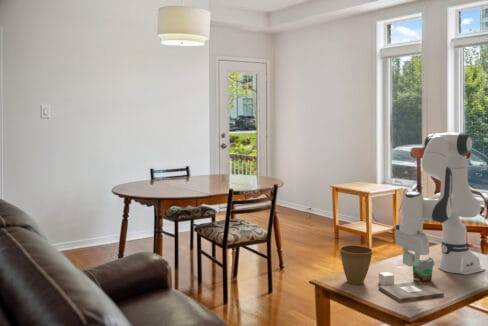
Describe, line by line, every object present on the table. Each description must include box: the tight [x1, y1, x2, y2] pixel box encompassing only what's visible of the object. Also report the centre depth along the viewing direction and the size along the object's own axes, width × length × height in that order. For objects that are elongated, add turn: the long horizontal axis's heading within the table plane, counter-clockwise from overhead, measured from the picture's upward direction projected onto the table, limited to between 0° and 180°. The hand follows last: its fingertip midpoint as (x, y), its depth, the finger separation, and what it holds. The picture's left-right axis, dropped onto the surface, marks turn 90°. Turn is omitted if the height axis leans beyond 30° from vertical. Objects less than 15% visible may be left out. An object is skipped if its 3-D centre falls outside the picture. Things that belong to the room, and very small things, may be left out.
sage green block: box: [402, 250, 421, 267], centre depth 209 cm, size 5×5×5 cm
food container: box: [412, 257, 435, 284], centre depth 225 cm, size 12×6×10 cm, turn 118°
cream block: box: [378, 271, 395, 286], centre depth 222 cm, size 5×5×5 cm
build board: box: [378, 281, 445, 303], centre depth 210 cm, size 22×16×2 cm
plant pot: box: [339, 244, 373, 285], centre depth 225 cm, size 15×15×16 cm
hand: (411, 259), depth 209 cm, fingers closed on sage green block, 5 cm apart
